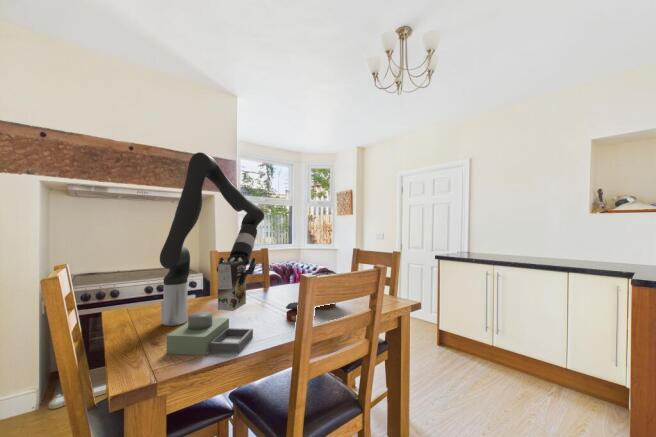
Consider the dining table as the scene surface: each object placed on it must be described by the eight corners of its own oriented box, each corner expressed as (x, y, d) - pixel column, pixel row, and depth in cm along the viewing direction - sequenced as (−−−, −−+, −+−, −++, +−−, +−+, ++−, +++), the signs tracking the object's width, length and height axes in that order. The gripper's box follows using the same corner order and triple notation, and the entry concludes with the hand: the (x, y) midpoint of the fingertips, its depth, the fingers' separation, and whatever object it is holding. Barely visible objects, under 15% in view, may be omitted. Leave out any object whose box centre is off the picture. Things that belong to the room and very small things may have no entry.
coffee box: (233, 311, 98) (234, 264, 98) (217, 310, 99) (217, 263, 99) (246, 303, 107) (246, 260, 107) (231, 302, 108) (231, 260, 108)
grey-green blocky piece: (166, 353, 95) (166, 323, 95) (196, 332, 113) (196, 307, 113) (235, 356, 93) (236, 325, 93) (254, 334, 111) (254, 308, 111)
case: (313, 314, 134) (314, 276, 134) (300, 303, 152) (300, 270, 153) (347, 310, 141) (347, 274, 141) (330, 300, 159) (331, 268, 160)
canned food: (286, 330, 127) (277, 309, 129) (300, 321, 136) (291, 301, 138) (302, 323, 121) (293, 301, 123) (316, 314, 130) (307, 294, 132)
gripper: (222, 240, 111) (207, 277, 99) (258, 241, 110) (247, 277, 98) (228, 252, 116) (214, 288, 104) (263, 253, 115) (252, 289, 103)
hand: (230, 283), depth 101 cm, fingers closed on coffee box, 7 cm apart
